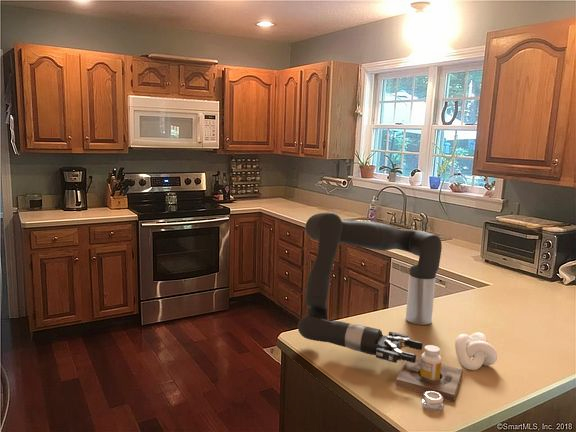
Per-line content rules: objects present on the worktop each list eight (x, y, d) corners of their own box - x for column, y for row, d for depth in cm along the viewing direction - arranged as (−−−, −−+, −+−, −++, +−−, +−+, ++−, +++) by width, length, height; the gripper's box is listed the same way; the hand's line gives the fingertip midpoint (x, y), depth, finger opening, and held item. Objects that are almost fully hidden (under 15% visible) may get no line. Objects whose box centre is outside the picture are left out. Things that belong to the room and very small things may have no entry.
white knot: (471, 378, 129) (475, 348, 128) (441, 358, 140) (444, 331, 139) (500, 371, 134) (504, 342, 132) (469, 353, 145) (472, 326, 143)
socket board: (408, 362, 137) (409, 356, 137) (461, 375, 130) (462, 369, 130) (395, 385, 124) (396, 378, 124) (453, 402, 117) (454, 394, 117)
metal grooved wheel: (423, 398, 118) (421, 408, 114) (424, 388, 118) (422, 398, 113) (443, 403, 117) (442, 413, 112) (444, 392, 116) (443, 402, 112)
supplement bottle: (435, 375, 130) (438, 343, 128) (442, 386, 125) (445, 352, 123) (416, 375, 130) (419, 343, 128) (422, 385, 124) (425, 352, 123)
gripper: (356, 336, 128) (414, 350, 120) (371, 318, 140) (425, 330, 133) (354, 361, 129) (412, 376, 122) (369, 341, 142) (423, 354, 134)
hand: (419, 352), depth 127 cm, fingers open, 8 cm apart
